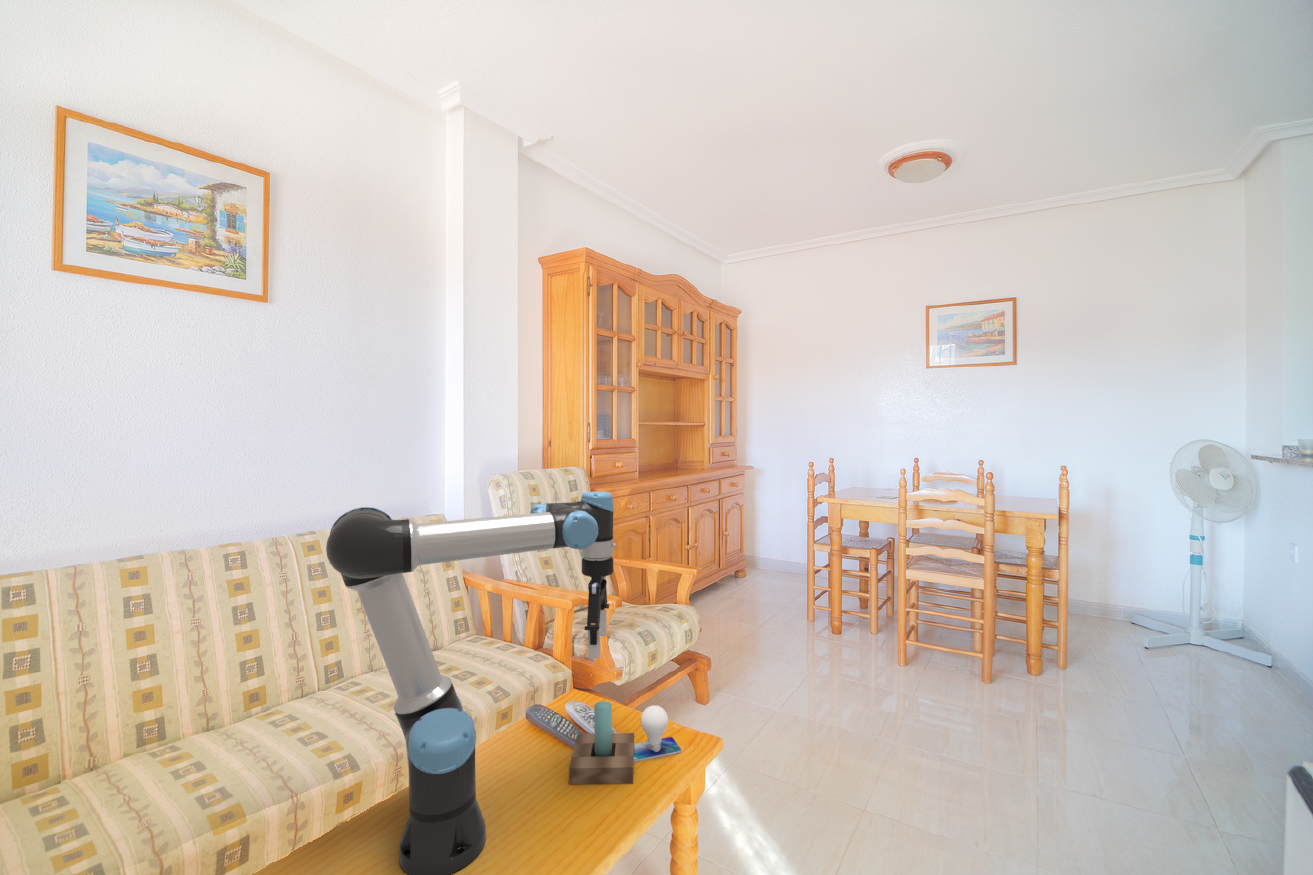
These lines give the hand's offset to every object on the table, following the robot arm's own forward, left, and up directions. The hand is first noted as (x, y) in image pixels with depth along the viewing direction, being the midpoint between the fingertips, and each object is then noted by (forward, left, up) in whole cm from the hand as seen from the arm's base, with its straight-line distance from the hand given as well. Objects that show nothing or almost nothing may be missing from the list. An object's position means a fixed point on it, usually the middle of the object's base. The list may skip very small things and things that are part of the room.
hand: (597, 646), depth 133 cm
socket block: (+1, -3, -27) cm, 27 cm away
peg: (+1, -3, -27) cm, 27 cm away
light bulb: (+13, +2, -27) cm, 30 cm away
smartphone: (+12, +3, -27) cm, 30 cm away
